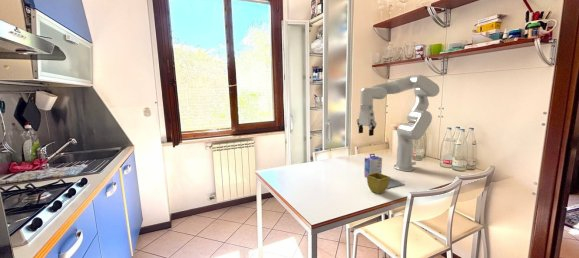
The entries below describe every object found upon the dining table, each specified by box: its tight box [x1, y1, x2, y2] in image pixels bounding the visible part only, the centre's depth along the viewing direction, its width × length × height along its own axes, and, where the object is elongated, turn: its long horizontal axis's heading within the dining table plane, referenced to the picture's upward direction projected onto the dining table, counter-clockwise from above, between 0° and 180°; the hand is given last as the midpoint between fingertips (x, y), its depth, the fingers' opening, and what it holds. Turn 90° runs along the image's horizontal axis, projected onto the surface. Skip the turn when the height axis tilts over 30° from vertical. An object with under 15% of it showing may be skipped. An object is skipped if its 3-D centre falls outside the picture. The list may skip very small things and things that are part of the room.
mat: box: [386, 177, 405, 190], centre depth 149 cm, size 14×15×1 cm
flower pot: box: [366, 173, 391, 195], centre depth 136 cm, size 9×9×9 cm
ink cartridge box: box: [363, 153, 383, 178], centre depth 158 cm, size 10×6×14 cm, turn 113°
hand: (365, 134), depth 161 cm, fingers open, 9 cm apart
